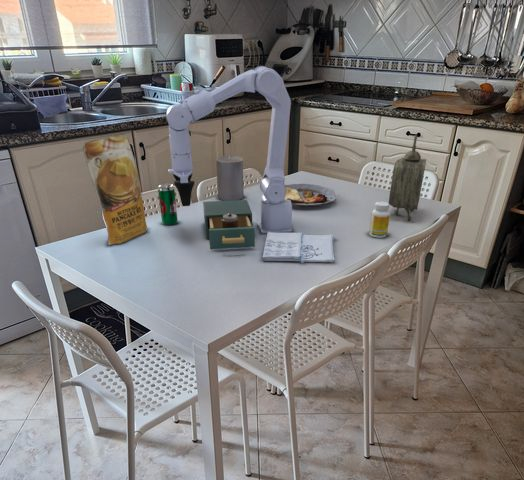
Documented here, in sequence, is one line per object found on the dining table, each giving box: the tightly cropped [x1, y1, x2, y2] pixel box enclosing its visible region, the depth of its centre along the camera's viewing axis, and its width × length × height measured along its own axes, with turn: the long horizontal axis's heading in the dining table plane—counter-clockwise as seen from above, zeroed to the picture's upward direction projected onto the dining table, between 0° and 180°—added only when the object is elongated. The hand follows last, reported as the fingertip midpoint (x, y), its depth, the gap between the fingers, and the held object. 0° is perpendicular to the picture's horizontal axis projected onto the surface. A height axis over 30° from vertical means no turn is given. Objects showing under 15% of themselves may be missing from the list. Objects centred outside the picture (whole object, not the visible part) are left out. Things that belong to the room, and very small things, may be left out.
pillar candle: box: [215, 154, 245, 201], centre depth 175 cm, size 10×10×15 cm
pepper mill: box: [222, 213, 238, 228], centre depth 139 cm, size 5×5×7 cm
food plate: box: [285, 183, 338, 207], centre depth 176 cm, size 25×23×4 cm
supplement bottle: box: [368, 201, 391, 239], centre depth 145 cm, size 5×5×10 cm
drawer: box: [208, 216, 256, 250], centre depth 139 cm, size 16×13×6 cm
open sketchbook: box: [262, 232, 336, 264], centre depth 137 cm, size 19×20×2 cm
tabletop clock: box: [388, 134, 427, 222], centre depth 155 cm, size 14×9×25 cm, turn 161°
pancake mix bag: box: [82, 133, 148, 246], centre depth 139 cm, size 7×19×28 cm, turn 149°
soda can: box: [157, 183, 179, 226], centre depth 153 cm, size 5×5×12 cm
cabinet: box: [202, 199, 253, 240], centre depth 149 cm, size 13×14×7 cm
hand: (185, 201), depth 142 cm, fingers open, 7 cm apart
